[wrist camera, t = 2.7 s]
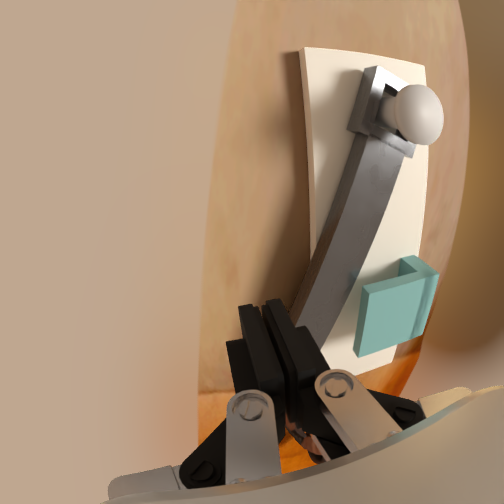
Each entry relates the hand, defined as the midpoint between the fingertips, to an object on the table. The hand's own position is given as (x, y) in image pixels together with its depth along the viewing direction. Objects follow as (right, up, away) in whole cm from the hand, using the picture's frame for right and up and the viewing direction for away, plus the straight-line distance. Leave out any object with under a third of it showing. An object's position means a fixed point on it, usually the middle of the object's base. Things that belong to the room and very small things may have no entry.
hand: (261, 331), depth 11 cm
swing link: (+6, +5, +7) cm, 10 cm away
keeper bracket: (+10, 0, +10) cm, 14 cm away
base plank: (+8, +4, +9) cm, 13 cm away
